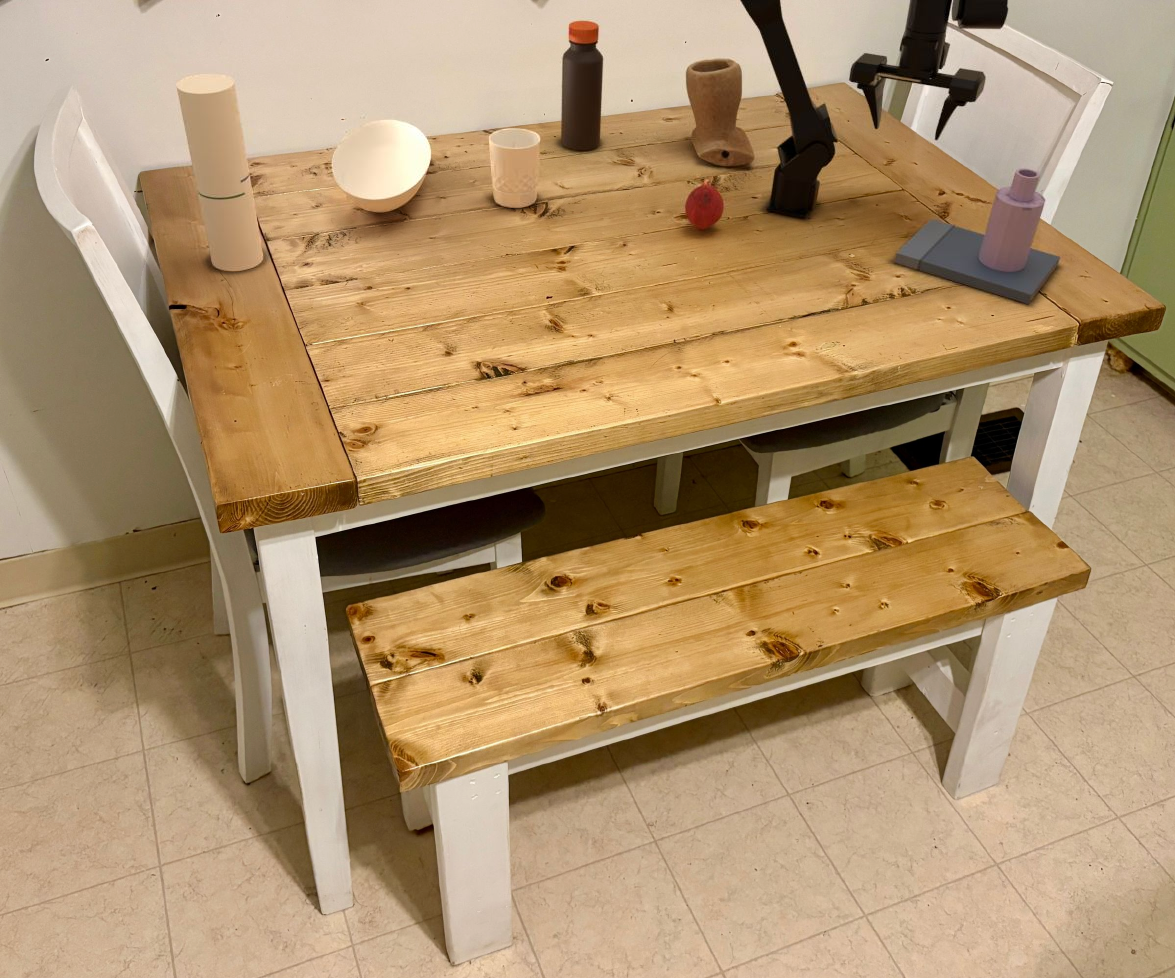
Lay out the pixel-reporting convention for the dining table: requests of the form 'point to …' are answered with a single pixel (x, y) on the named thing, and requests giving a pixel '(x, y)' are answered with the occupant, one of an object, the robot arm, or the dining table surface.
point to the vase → (1012, 223)
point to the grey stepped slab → (972, 262)
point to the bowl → (381, 164)
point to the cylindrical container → (221, 170)
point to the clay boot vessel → (717, 112)
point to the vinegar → (582, 88)
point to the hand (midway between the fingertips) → (906, 133)
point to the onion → (704, 206)
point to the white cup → (514, 166)
